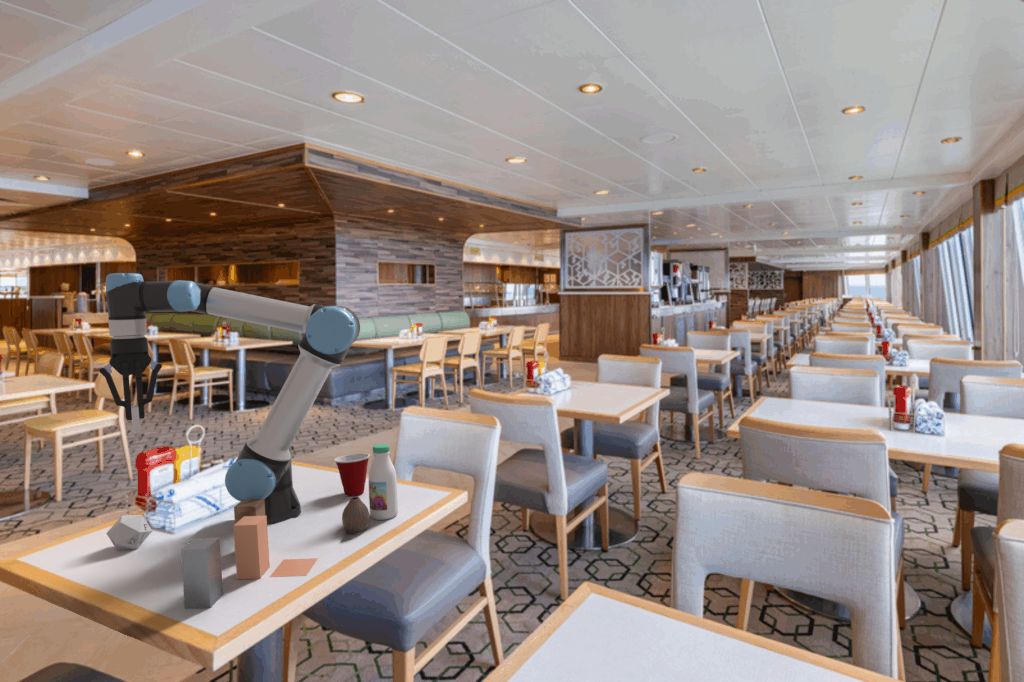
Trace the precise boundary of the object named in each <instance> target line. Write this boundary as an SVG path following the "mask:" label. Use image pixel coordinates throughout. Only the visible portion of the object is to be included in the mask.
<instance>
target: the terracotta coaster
mask: <svg viewBox="0 0 1024 682" xmlns="http://www.w3.org/2000/svg"><path fill="white" fill-rule="evenodd" d="M318 559H319V558H317V557H316V558H315V557H314V558H291V559H290V558H287V559H282V560H281V562H280V563H279V565H277V567H276V568H275V569H274V570H273V572H272V573H271V574H270V575H269V578H279V577H303V576H308V574H309V573H310V572H311V569H312V568H313V566H314V565H315V564H316V562H317V561H318Z"/></svg>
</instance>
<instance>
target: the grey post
mask: <svg viewBox="0 0 1024 682" xmlns="http://www.w3.org/2000/svg"><path fill="white" fill-rule="evenodd" d="M220 542H221V541H220V537H202V538H201V537H200V538H194V539H192V540H191V541H190V542H189V543H187V544H186V545H184V547H182V548H181V549H180V559H181V561H180V562H181V572H182V584H183V585H182V587H183V601H184V609H185V610H186V609H188V610H189V609H211V608H212V607H213V606H214V605H215V604H216V602H218V601H219V599H220V598H222V596H223V595H224V586H223V584H224V583H223V574H222V573H223V571H222V559H221V558H222V557H221V543H220Z"/></svg>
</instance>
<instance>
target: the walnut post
mask: <svg viewBox="0 0 1024 682" xmlns="http://www.w3.org/2000/svg"><path fill="white" fill-rule="evenodd" d="M233 512H234V513H233V516H234V525H235V524H236V523H237V522H238V521H239V520H240V519H242V518H243V517H244V516H265V502H264V499H243V500H242V501H239V502H238V503H237V504H236V505H235V506H233Z"/></svg>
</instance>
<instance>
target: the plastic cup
mask: <svg viewBox="0 0 1024 682" xmlns="http://www.w3.org/2000/svg"><path fill="white" fill-rule="evenodd" d="M370 457H371V454H369V453H350V454H344V455H342V456H337V457H335V458H334V459H333V460H334V463H335V464H336V466H337V469H338V473H339V477H340V482H341V485H342V489H343V493H344V495H345V496H346V497H349V498H352V497H360V496H361V495H363V494H364V492H365V489H366V488H365V486H366V482H367V481H366V480H367V472H368V463H369V459H370Z"/></svg>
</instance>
